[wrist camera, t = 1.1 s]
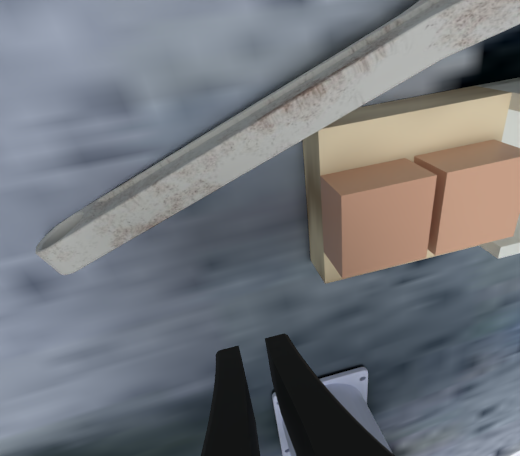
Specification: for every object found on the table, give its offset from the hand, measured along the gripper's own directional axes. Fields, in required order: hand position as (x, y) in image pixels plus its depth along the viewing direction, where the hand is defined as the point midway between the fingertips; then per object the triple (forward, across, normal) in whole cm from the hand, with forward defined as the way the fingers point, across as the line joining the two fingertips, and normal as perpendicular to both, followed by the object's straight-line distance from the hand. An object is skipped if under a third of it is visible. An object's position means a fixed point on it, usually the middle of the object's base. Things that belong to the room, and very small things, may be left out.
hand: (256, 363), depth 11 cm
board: (+10, -10, 0) cm, 15 cm away
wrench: (+11, -5, -6) cm, 13 cm away
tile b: (+8, -8, 0) cm, 11 cm away
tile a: (+8, -12, 0) cm, 15 cm away
